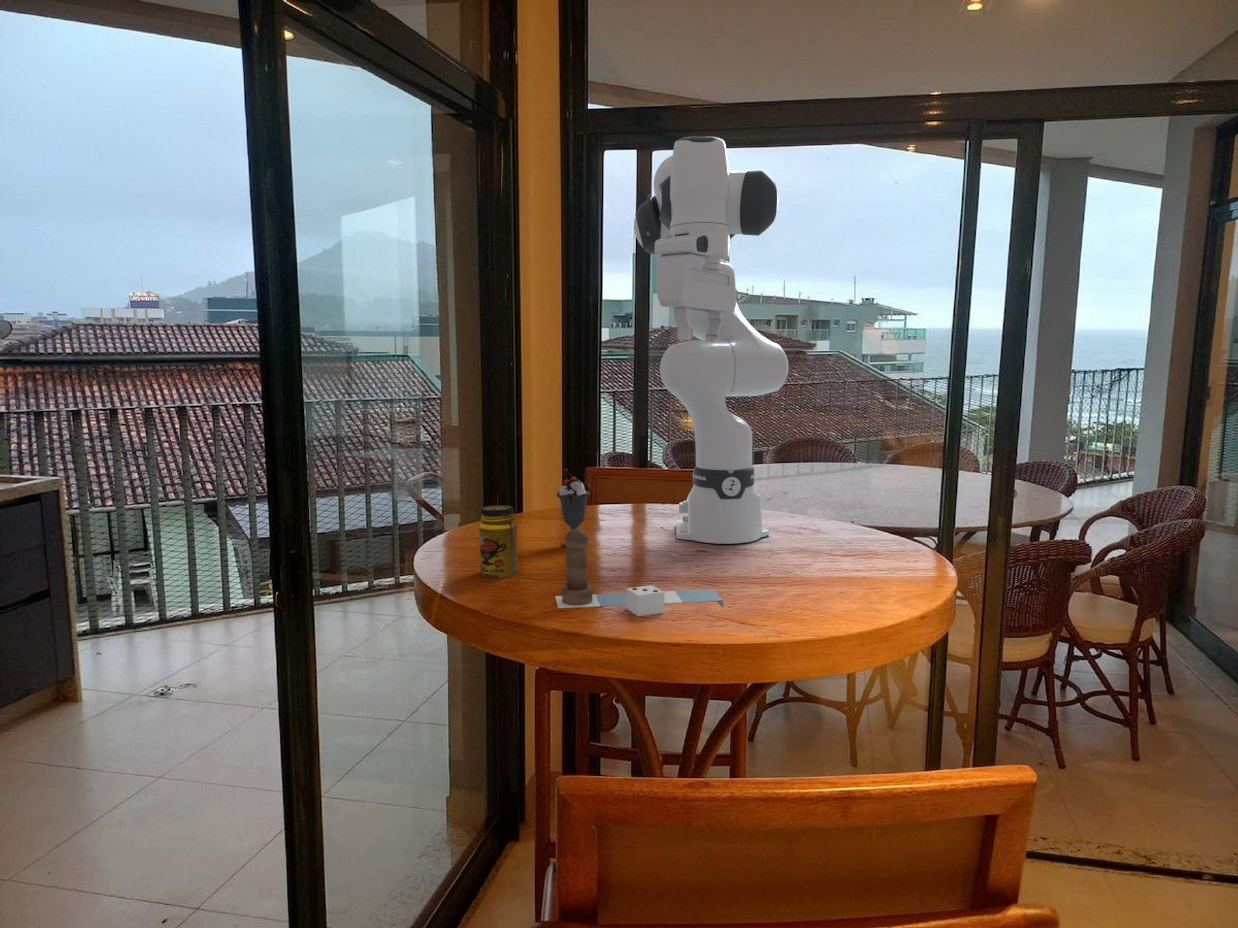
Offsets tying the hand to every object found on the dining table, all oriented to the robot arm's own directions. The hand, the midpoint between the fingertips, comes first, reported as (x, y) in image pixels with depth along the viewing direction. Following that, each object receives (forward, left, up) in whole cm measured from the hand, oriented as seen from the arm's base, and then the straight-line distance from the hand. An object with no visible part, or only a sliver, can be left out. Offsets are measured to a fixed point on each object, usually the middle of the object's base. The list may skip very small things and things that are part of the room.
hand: (699, 341), depth 130 cm
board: (+7, -11, -39) cm, 41 cm away
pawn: (+7, -20, -38) cm, 43 cm away
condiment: (-12, -31, -39) cm, 51 cm away
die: (+13, -11, -39) cm, 42 cm away
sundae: (-34, -17, -39) cm, 54 cm away
